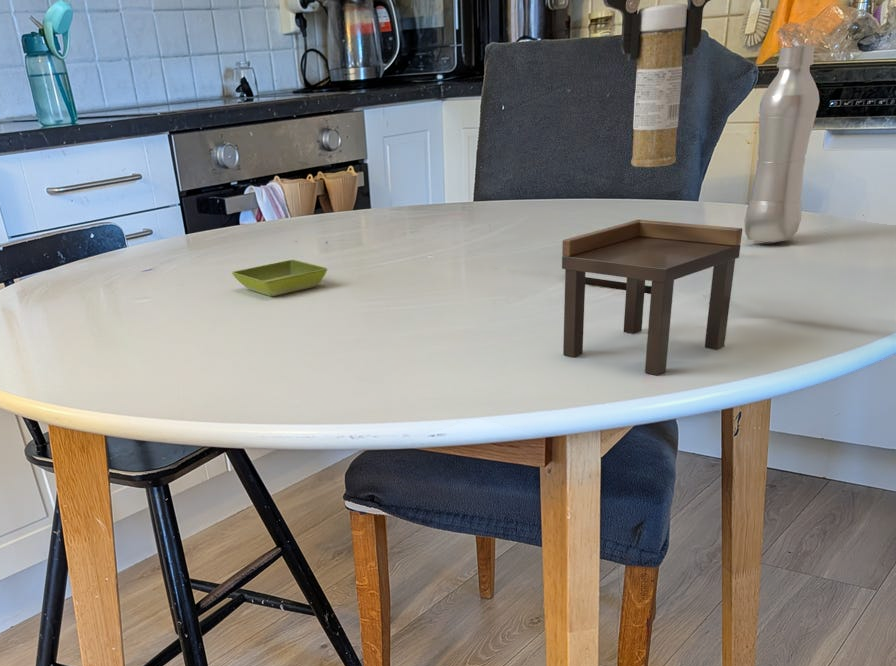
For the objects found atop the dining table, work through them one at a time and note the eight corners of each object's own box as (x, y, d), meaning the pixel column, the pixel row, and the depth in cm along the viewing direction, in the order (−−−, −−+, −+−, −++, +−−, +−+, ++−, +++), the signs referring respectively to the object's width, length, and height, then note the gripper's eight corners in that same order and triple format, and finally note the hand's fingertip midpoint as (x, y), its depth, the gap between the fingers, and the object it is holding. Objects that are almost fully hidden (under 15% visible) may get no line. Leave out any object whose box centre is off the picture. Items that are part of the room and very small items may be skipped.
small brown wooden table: (728, 346, 74) (743, 228, 69) (657, 376, 69) (668, 251, 63) (630, 328, 80) (637, 219, 75) (559, 355, 75) (562, 239, 70)
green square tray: (331, 286, 104) (329, 267, 103) (267, 300, 100) (264, 281, 99) (295, 276, 110) (292, 259, 109) (233, 290, 106) (230, 272, 105)
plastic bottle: (799, 237, 108) (830, 43, 97) (794, 248, 103) (827, 44, 92) (745, 237, 111) (769, 47, 100) (737, 247, 106) (762, 49, 95)
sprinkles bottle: (652, 161, 93) (662, 6, 85) (685, 163, 89) (698, 1, 82) (620, 167, 91) (627, 8, 83) (653, 169, 87) (663, 4, 80)
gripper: (596, -178, 73) (589, 65, 82) (772, -198, 72) (745, 51, 81) (586, -160, 79) (581, 64, 89) (748, -179, 78) (725, 51, 87)
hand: (659, 56), depth 85 cm, fingers closed on sprinkles bottle, 4 cm apart
